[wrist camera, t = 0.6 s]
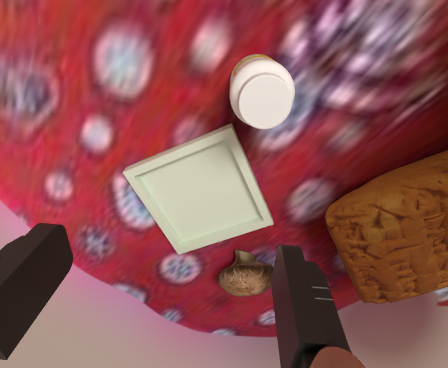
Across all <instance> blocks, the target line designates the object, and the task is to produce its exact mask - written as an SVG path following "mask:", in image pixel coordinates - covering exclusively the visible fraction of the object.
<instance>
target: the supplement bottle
mask: <svg viewBox="0 0 448 368" xmlns="http://www.w3.org/2000/svg"><path fill="white" fill-rule="evenodd" d="M294 95H295V88H294V83H293V80H292V78H291V76H290V74H289V73H288V71H287V70H286V69H285V68H284V67H283V66H282V65H280V64H279V63H277V62H276V61H274V60H273V59H271V58H270V57H268V56H265V55H261V54H255V55H250V56H247V57H245V58H243V59H242V60H241V61H240V62H238V64H237V65H236V66H235V68H234V69H233V71H232V74H231V78H230V103H231V106H232V109H233V111H234V113H235V114H236V116H237V117H238V118H239V119H240V120H241V121H243V122H244V123H246V124H248V125H250V126H252V127H254V128H258V129H270V128H273V127H275V126H277V125H279V124H280V123H282V122H283V121H284V120H285V119H286V117H287V116H288V114H289V112H290V110H291V107H292V104H293V101H294Z"/></svg>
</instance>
